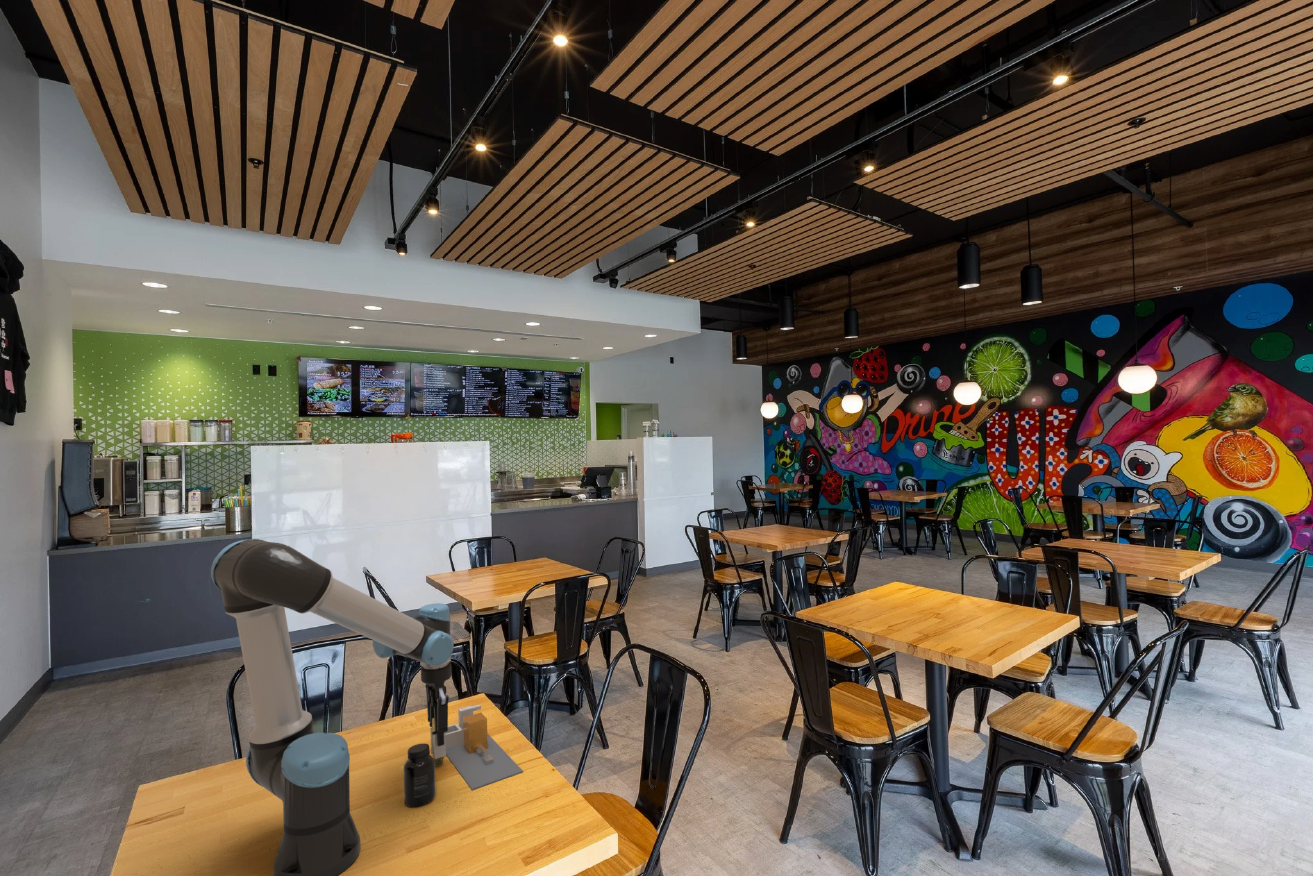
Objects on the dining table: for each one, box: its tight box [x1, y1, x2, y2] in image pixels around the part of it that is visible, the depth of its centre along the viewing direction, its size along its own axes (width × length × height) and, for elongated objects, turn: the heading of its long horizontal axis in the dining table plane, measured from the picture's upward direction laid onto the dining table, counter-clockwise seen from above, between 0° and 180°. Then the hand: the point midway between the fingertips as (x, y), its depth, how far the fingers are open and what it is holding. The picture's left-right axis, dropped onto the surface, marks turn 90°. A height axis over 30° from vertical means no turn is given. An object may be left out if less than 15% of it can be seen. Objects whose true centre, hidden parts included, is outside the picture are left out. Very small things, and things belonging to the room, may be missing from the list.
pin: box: [431, 717, 445, 768], centre depth 158 cm, size 3×3×12 cm
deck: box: [445, 704, 524, 791], centre depth 161 cm, size 30×13×8 cm, turn 35°
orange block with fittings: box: [463, 712, 493, 765], centre depth 162 cm, size 14×5×8 cm, turn 35°
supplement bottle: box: [403, 742, 437, 808], centre depth 142 cm, size 7×7×12 cm
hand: (438, 754), depth 158 cm, fingers closed on pin, 2 cm apart
